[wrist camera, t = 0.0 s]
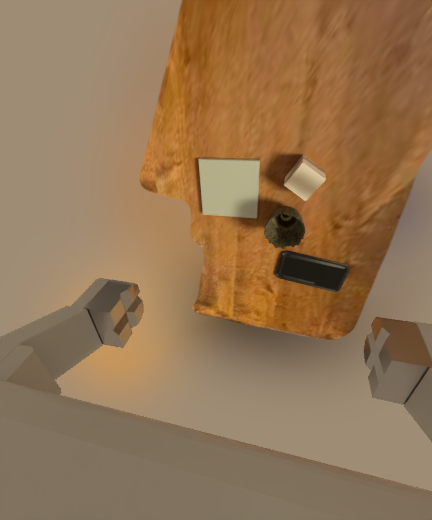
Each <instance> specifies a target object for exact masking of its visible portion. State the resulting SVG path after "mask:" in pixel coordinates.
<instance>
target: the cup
mask: <svg viewBox="0 0 432 520" xmlns="http://www.w3.org/2000/svg"><path fill="white" fill-rule="evenodd" d="M282 214H286V215H290V216H289V217H287V218H285V217H283V215H282ZM264 234H265V236H266V238H267V239H269V243H272V244H273V245H274V246H275V247H276V248H282V249H285V248H286V246H292V247H295V245H299V244H300V242H301V239H304V234H305V227H304V223H303V219H302V217H301V215H300V213H299V212H298V211H297V210H296V209H294V208H292V207H287V206H285V207H280V208H278V209H276V210H275V211H274V212H273V213H272V214H271V216H270V217H269V219H268V221H267V223H266V226H265V231H264Z"/></svg>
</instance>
